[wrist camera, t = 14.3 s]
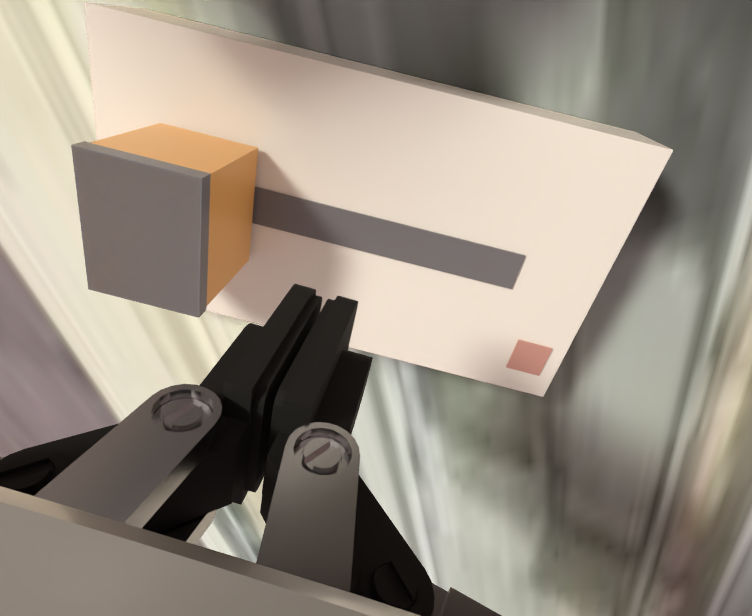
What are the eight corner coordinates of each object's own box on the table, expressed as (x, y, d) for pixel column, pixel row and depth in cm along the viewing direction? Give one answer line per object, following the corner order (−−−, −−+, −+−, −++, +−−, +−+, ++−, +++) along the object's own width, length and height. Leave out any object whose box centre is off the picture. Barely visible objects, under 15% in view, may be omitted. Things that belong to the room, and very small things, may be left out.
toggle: (259, 146, 18) (202, 178, 14) (249, 261, 21) (199, 317, 17) (159, 121, 18) (71, 144, 14) (161, 238, 21) (88, 289, 17)
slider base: (634, 131, 20) (674, 150, 17) (530, 350, 26) (543, 398, 23) (145, 9, 20) (82, 1, 17) (153, 254, 27) (108, 286, 23)
